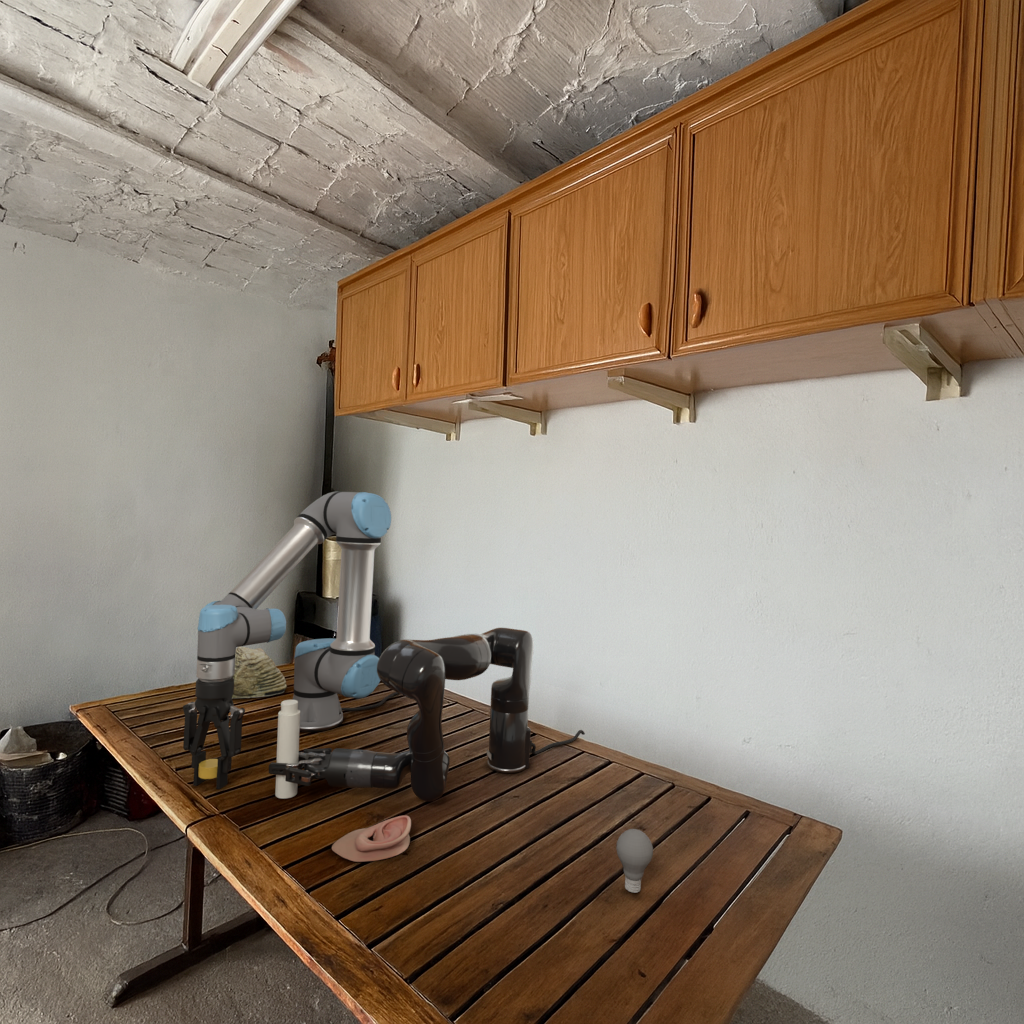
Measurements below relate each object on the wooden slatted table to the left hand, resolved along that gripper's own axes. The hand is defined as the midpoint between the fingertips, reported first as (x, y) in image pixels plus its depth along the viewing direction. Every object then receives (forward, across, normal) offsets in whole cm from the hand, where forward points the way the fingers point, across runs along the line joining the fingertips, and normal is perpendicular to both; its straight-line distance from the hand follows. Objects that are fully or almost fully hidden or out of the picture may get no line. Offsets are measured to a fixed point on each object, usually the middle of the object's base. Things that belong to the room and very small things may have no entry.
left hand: (210, 784), depth 137 cm
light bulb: (0, +90, -14) cm, 91 cm away
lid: (-4, 0, 0) cm, 4 cm away
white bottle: (0, +18, +1) cm, 18 cm away
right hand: (-6, +15, 0) cm, 16 cm away
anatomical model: (0, +43, -13) cm, 45 cm away
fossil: (0, -27, +57) cm, 63 cm away
